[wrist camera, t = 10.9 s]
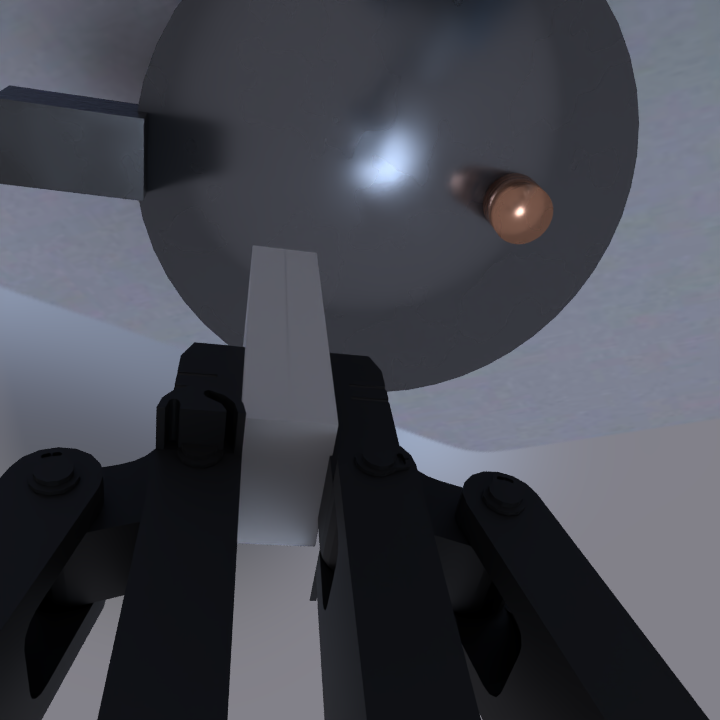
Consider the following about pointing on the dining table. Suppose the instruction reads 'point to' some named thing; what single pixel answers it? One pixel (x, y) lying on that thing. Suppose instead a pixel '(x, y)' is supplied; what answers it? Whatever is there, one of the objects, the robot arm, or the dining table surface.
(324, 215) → the pot lid
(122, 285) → the dining table surface
